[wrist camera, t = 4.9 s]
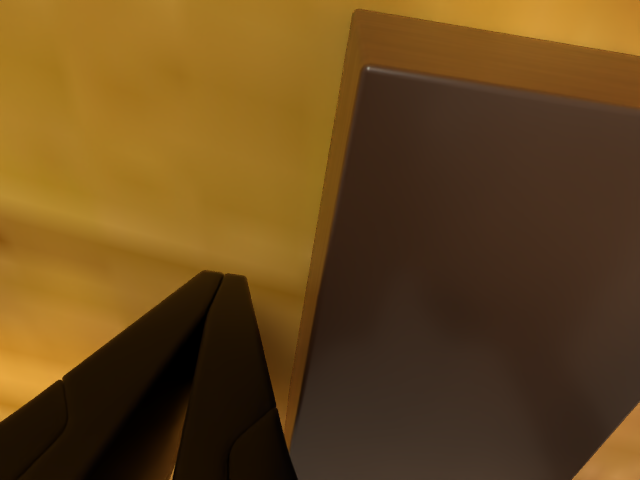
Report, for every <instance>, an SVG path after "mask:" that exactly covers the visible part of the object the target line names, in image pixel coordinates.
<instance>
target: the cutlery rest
mask: <svg viewBox="0 0 640 480" xmlns="http://www.w3.org/2000/svg"><path fill="white" fill-rule="evenodd" d="M639 402H640V56H634V55H628V54H622V53H616V52H611V51H605V50H599V49H593V48H587V47H581V46H575V45H569V44H563V43H557V42H551V41H545V40H540V39H534V38H528V37H522V36H516V35H510V34H504V33H498V32H492V31H486V30H480V29H474V28H469V27H463V26H457V25H451V24H445V23H439V22H433V21H427V20H421V19H415V18H409V17H403V16H398V15H392V14H386V13H380V12H374V11H368V10H362V9H356V10H354V12H353V14H352V20H351V26H350V32H349V38H348V43H347V49H346V55H345V61H344V67H343V73H342V79H341V85H340V91H339V97H338V103H337V109H336V115H335V121H334V127H333V133H332V139H331V145H330V151H329V157H328V163H327V169H326V175H325V181H324V187H323V192H322V198H321V204H320V210H319V216H318V222H317V228H316V234H315V240H314V246H313V252H312V258H311V264H310V270H309V276H308V282H307V288H306V294H305V300H304V306H303V312H302V318H301V324H300V330H299V336H298V341H297V347H296V353H295V359H294V365H293V371H292V377H291V383H290V389H289V397H288V406H287V414H286V423H285V431H284V437H285V440H286V444H287V448H288V451H289V455H290V458H291V461H292V463H293V466H294V469H295V472H296V475H297V478H298V480H572V479H573V478H574V476H575V475H576V474H577V473H578V472H579V471H580V470H581V468H582V467H583V466H584V465H585V464H586V463H587V462H588V460H589V459H590V458H591V457H592V456H593V455H594V454H595V452H596V451H597V450H598V449H599V448H600V447H601V446H602V444H603V443H604V442H605V441H606V440H607V439H608V438H609V436H610V435H611V434H612V433H613V432H614V431H615V430H616V428H617V427H618V426H619V425H620V424H621V423H622V422H623V420H624V419H625V418H626V417H627V416H628V415H629V414H630V412H631V411H632V410H633V409H634V408H635V407H636V406H637V404H638V403H639Z"/></svg>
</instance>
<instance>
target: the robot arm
mask: <svg viewBox="0 0 640 480" xmlns="http://www.w3.org/2000/svg"><path fill="white" fill-rule="evenodd" d="M62 380H63V381H62ZM62 380H58V381H56V382H55V383H54V384H52V385H51V386H50V387H48V388H47V389H46V390H44V391H43V392H42V393H40V394H39V395H38V396H36V397H35V398H34V399H32V400H31V401H29V402H28V403H27V404H25V405H24V406H22V407H21V408H20V409H18V410H17V411H16V412H14V413H13V414H11V415H10V416H9V417H7V418H6V419H4V420H3V421H1V422H0V480H169V479H170V477H171V474H172V471H173V469H174V466H175V469H174V474H173V479H172V480H298V478H297V475H296V472H295V469H294V466H293V463H292V461H291V458H290V455H289V451H288V448H287V444H286V440H285V437H284V433H283V430H282V426H281V422H280V417H279V413H278V409H277V408H276V402H275V397H274V393H273V389H272V384H271V380H270V376H269V372H268V367H267V363H266V359H265V355H264V350H263V346H262V342H261V338H260V333H259V329H258V325H257V321H256V316H255V312H254V308H253V304H252V299H251V295H250V291H249V287H248V282H247V279H246V277H245V276H243V275H236V274H226V275H225V276H224V274H223V273H221V272H215V271H207V270H204V271H202V272H200V273H199V274H197V275H196V276H195V277H194V278H192V279H191V280H190V281H188V282H187V283H186V284H184V285H183V286H182V287H180V288H179V289H178V290H176V291H175V292H174V293H172V294H171V295H170V296H168V297H167V298H166V299H165V300H163V301H162V302H161V303H159V304H158V305H157V306H155V307H154V308H153V309H151V310H150V311H149V312H147V313H146V314H145V315H143V316H142V317H141V318H139V319H138V320H137V321H136V322H134V323H133V324H132V325H130V326H129V327H128V328H126V329H125V330H124V331H122V332H121V333H120V334H118V335H117V336H116V337H114V338H113V339H112V340H111V341H109V342H108V343H107V344H105V345H104V346H103V347H101V348H100V349H99V350H97V351H96V352H95V353H93V354H92V355H91V356H89V357H88V358H87V359H85V360H84V361H83V362H82V363H80V364H79V365H78V366H76V367H75V368H74V369H72V370H71V371H70V372H68V373H67V374H66V375H64V376H63V378H62ZM175 463H176V464H175Z"/></svg>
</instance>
